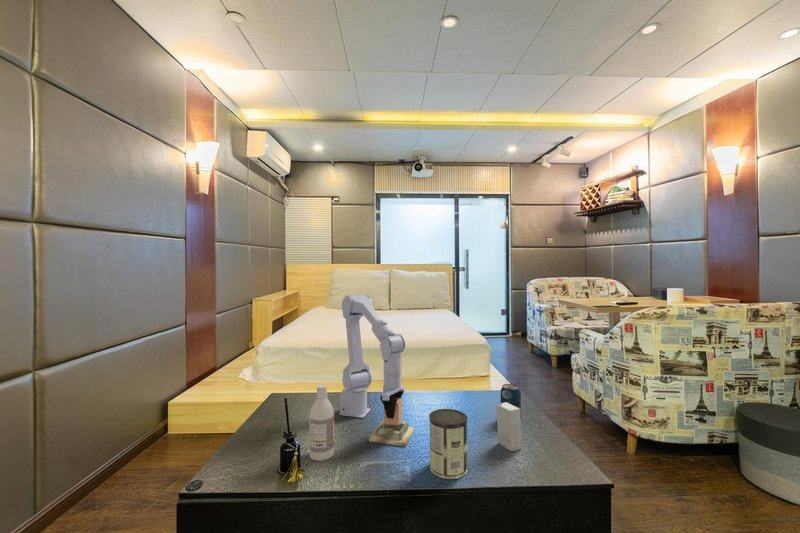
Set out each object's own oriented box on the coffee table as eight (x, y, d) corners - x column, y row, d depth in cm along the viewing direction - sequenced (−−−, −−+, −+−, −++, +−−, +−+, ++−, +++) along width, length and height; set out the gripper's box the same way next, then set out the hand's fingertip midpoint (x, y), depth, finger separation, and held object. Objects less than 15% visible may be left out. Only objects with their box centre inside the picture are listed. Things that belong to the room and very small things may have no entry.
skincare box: (522, 449, 103) (522, 408, 103) (510, 452, 101) (510, 411, 101) (507, 439, 109) (507, 401, 109) (496, 443, 107) (496, 403, 107)
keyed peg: (383, 423, 110) (383, 401, 110) (387, 418, 114) (387, 396, 114) (398, 425, 109) (398, 403, 109) (402, 420, 113) (402, 398, 113)
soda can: (509, 426, 118) (509, 391, 119) (496, 418, 125) (496, 384, 125) (525, 422, 121) (525, 388, 121) (511, 414, 128) (511, 382, 128)
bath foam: (335, 459, 98) (336, 388, 98) (310, 463, 95) (310, 391, 95) (331, 447, 104) (332, 380, 104) (308, 451, 102) (308, 383, 102)
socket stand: (368, 441, 108) (368, 431, 108) (380, 425, 118) (380, 417, 118) (405, 446, 104) (405, 436, 104) (414, 430, 115) (414, 421, 115)
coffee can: (446, 453, 101) (446, 405, 101) (475, 469, 93) (475, 416, 93) (421, 467, 94) (421, 415, 94) (450, 485, 86) (450, 428, 86)
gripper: (397, 380, 104) (397, 426, 103) (410, 367, 117) (410, 407, 117) (375, 378, 106) (375, 423, 105) (390, 366, 119) (390, 405, 119)
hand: (392, 415), depth 111 cm, fingers closed on keyed peg, 4 cm apart
